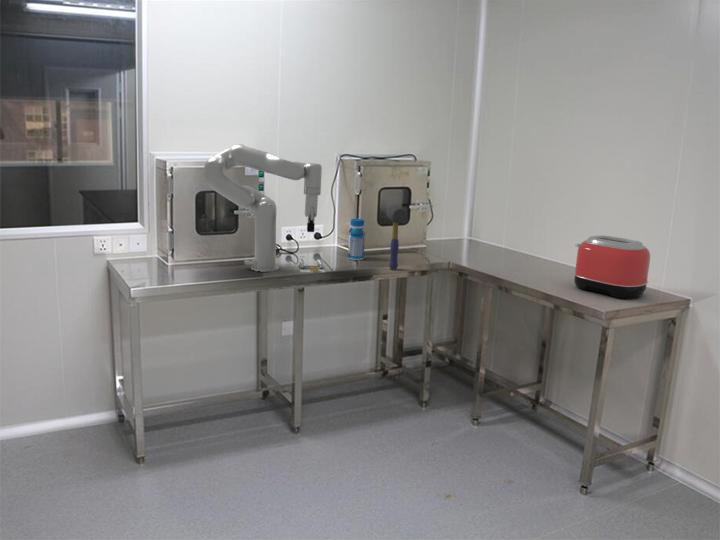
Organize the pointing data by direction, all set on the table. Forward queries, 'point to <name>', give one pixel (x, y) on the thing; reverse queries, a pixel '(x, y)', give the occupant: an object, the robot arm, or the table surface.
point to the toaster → (612, 266)
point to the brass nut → (314, 269)
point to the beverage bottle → (356, 240)
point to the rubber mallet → (395, 232)
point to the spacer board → (307, 269)
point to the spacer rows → (319, 263)
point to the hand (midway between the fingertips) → (310, 231)
